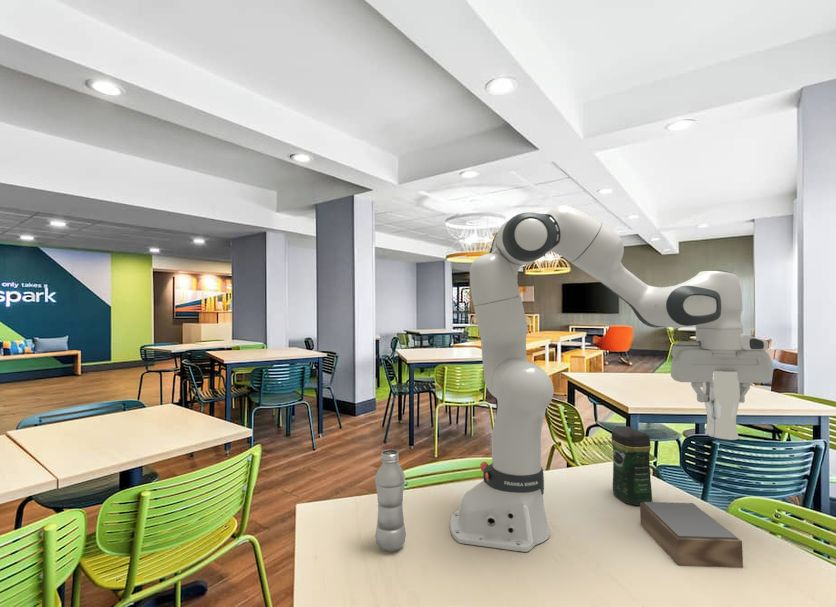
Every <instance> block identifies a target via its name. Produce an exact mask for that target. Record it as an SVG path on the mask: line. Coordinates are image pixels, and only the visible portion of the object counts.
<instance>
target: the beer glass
mask: <svg viewBox="0 0 836 607" xmlns="http://www.w3.org/2000/svg"><path fill="white" fill-rule="evenodd" d="M701 389H702V391H703V393H704V394H706V395H708V402H704V406H705V412H706V417H707V419H706V421H707V422H706V426H705V431H704V432H705V435H706V436H708V437H711V438H714V439H720V440H728V441H730V440H731V441H733V440H735V441H736V440H738V439H739V432H738V429H737V415H738V414H737V413H738V410H739V406H740V405H739V404H740V403H739V400H740V380H739V371H733V372H729V371H713V380H712V382H703V387H701Z"/></svg>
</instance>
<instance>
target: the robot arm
mask: <svg viewBox="0 0 836 607" xmlns="http://www.w3.org/2000/svg"><path fill="white" fill-rule="evenodd" d="M624 249H625V247H624V241H623V239H622V238H621V237H620V236H619V235H618V234H617V232H615V231H614V230H613V229H612V228H610V227H609V226H608V225H606V224H605V223H603V222H601V221H600V220H598V219H597V218H595V217H594V216H591V215H590V214H588V213H586V212H583V211H582V210H580V209H578V208H576V207H573V206H570V205H567V204H558V205H557V206H554V207H552V208H551V209H550V210H548V211H547V213H536V212H522V213H518V214H516V215H514V216H512V217H511V218H510V219H509V220H507V221H505V222H504V223H503V224H502V225H501V227H500V228H499V229H498V231H497V232H496V234H495V235H494V237H493V240H492V244H491V247H490V249H489V253H486V254H482V255H480V256H478V257H477V258H476V259H475V260H473V261H472V263H471V264H470V267H469V284H470V286H469V287H470V293H471V299H472V300H471V301H472V304H473V310H474V314H475V319H476V323H477V328H478V332H479V337H480V345H481V357H482V358H481V359H482V367H483V380H484V384H485V387H486V388H487V391H488V392H489V393H490V395H491V396H492V397H493V398H495V399H496V401H497V408H496V410H497V411H496V416H495V421H494V426H493V427H492V430H491V463H490V464H489V463H488V462H487V461H482V462H481V463H480V465H479V466H480V471H481V472H482V473H483V475H482V476H483V480H482V481H480V482H479V483H478V484H476V485H475V486H474V487H472V488H471V489H469V490H467V491H466V492H465V493H464V495H463V497H462V499H461V502H460V505H459V509H457V510H455V511H454V513H452V515H451V517H450V522H449V529H450V533H451V537H452V538H453V539H454V540H455V541H456V542H457V543H460V544H464V545H471V546H477V547H478V546H479V547H486V548H493V549H502V550H507V551H508V550H509V551H515V552H516V551H517V552H523V553H527V552H529V551H531V550H532V549H533V548H534V547H535V546H537V545H539V544H542V543H543V542H545V541H546V540H548V539H549V537H550V536H551V530H550V527H549V523H548V520H547V515H546V511H545V510H546V509H545V504H544V496H543V495H544V490H545V474H544V468H542V430H543V424H544V419H545V415H546V411H547V408H548V407H549V405H550V404H551V402H552V400H553V397H554V393H555V392H554V391H555V390H554V384H553V381H552V379H551V377H550V375H549V374H548V373H547V372H545V370H544V369H543V368H542V367H541V366H539V365H538V364H536V363H533V362H531V361H529V360H528V357H527V336H528V331H529V327H528V323H527V319H526V318H527V317H526V314H525V309H524V304H523V301H522V296H521V291H520V287H519V284H518V274H519V270H520V268H521V267H522V266H527V265H530V264H532V263H534V262H536V261H537V260H539V259H540V258H542V257H544V256H545V255H547V254H548V253H549V252H552V253H555V254H557V255H559V256H561V257H562V258H564V259H565V261H568V262H569V263H571V264H572V265H574V266H576V267H577V268H578V269H580V270H581V271H583V272H585V273H586V274H588V275H590V276H591V277H592V278H594V279H595V280H597V281H598V282H599V283H600V284H602V285H603V286H604V287H606V288H607V289H608V290H610V291H611V293H613V294H614V295H616V296H617V297H618V298H619V299H621V300H622V301H624V302H625V303H626V304H627V306H629V307H630V308H631V310H632V311H633V313H634V315H635V316H636V317H637V318H638V320H639V321H640V322H641V323H642V324H644V325H646V326H647V327H650V328H655V329H656V328H657V329H658V328H666V327H668V328H671V327H672V328H688V327H694V326H695V341H692V340H691V341H682V340H681V341H678V342H677V343H675V344H673V345H672V347H671V357H672V359H671V367H670V376H671V378H672V379H673V380H674V381H676V382H680V383H690V385H691V387H692V389H693V391H694V392H695V393H696V400H697V402H699V403H705V402H708V395H706V394H704V393H703V389H702V387H703V382H712V380H713V371H729V372H733V371H739V380H740V400H739V404H740V403H741V404H742V403H743V404H744V403H745V400H746V399H745V396H746V395H747V394H748V392H749V390H750V388H751V384H753V383H754V384H757V383H759V384H768V383H769V382H770V381H772V378H773V367H772V360H771V356H770V354H769V352H767V351H766V350H768V349H769V341H767V340H766V339H761V338H759V337H755V336H752V335H749V334H745V333H744V325H743V323H742V321H741V315H742V311H743V295H742V288H741V283H740V280H739V277H738V276H737V275H736V274H734V273H733V272H731V271H727V270H720V269H717V270H716V269H715V270H714V269H708V270H707V269H706V270H702V271H699V272H698V273H697V274H696V275H694V276H693V277H692V278H690V279H688V280H686V281H684V282H680V283H678V284H676V285H671V286H663V287H660V286H653V285H648V284H647V283H645V282H643V280H641V279H640V278H638V276H636V275H635V274H634V273H632V272H631V271H629V270H628V269H627V268H626V267H625V266H624V265H623V263H622V259H623V257H624V252H625V250H624Z"/></svg>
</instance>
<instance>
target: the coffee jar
mask: <svg viewBox="0 0 836 607" xmlns="http://www.w3.org/2000/svg"><path fill="white" fill-rule="evenodd" d="M611 446H612V453H613V454H612V455H613V457H612V458H613V460H612V463H613V464H612V469H613V470H612V493H613V494H614V496H616V497H617V498H618V499H620V500H622V502H624V503H626V504H629V505H637V506H640V503H643V502H653V493H652V492H653V491H652V490H653V489H652V481H651V466H650V453H651V450H652V449H651V448H652V446H651V437H650V435H649V434H647V433H645V432H642V431H640V430H637V429H635V428H633V427H630V426H629V425H627V426H626V425H622V426H621V425H619V426H614V428H613V429H612V430H611Z"/></svg>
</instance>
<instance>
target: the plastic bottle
mask: <svg viewBox="0 0 836 607" xmlns="http://www.w3.org/2000/svg"><path fill="white" fill-rule="evenodd" d="M399 461H400V459H399V451H398V450H396V449H385V450H382V451H381V458H380V462H381V463H382V464H381V465H380V466H379V468H378V470H377V471H376V474H375V478H374V479H375V480H374V481H375V488H376V495H377V509H378V510H377V522H376V529H375V536H374V537H375V541H376V545H377V547H378V548H379V549H380V550H381V551H384V552H394V551H398V550H400V549H402V547H403V545H404V544H405V542H406V537H407V536H406V535H407V533H406V532H407V531H406V526H405V522H404V520H405V519H404V509H403V507H404V506H403V504H404V503H403V501H404V491H405V490H404V489H405V481H406V479H405V478H406V475H405V473H404V470H403V469H402V467H401V465H400V464H399Z"/></svg>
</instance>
